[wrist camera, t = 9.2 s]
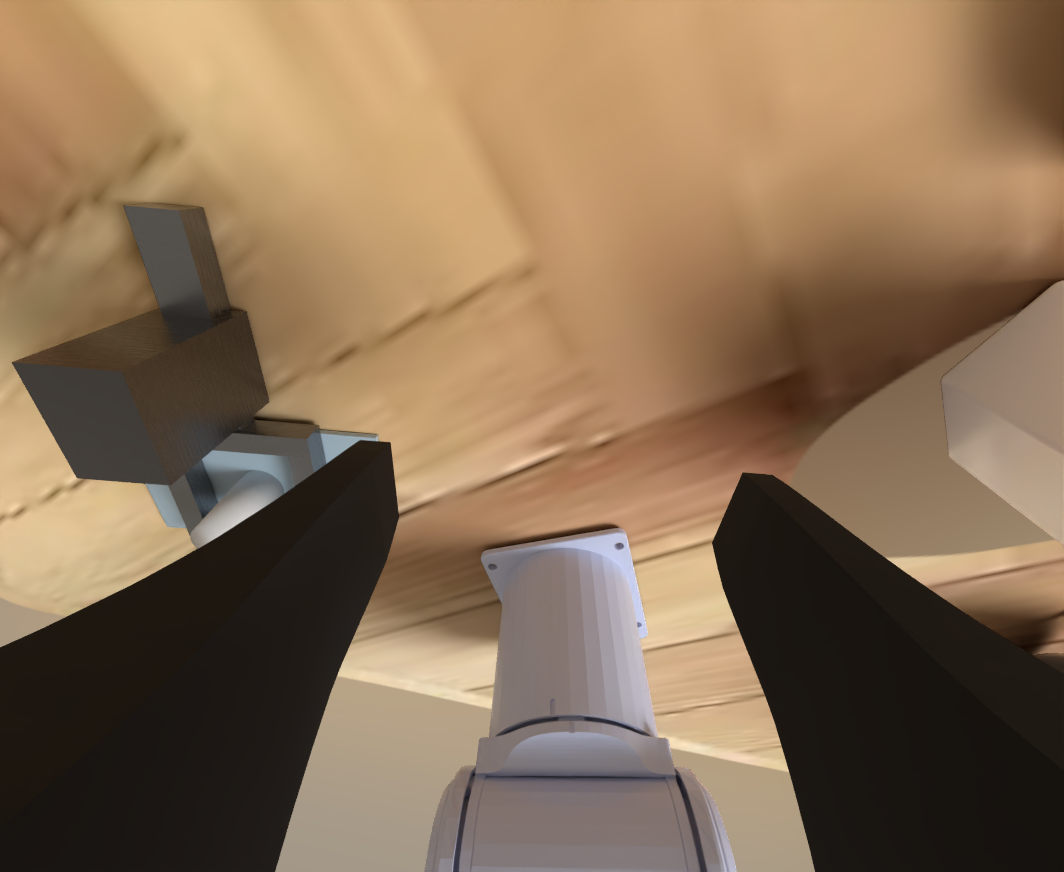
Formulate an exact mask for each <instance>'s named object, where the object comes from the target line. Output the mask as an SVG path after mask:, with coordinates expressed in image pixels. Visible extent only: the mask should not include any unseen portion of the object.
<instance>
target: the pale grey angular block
mask: <svg viewBox="0 0 1064 872" xmlns="http://www.w3.org/2000/svg"><path fill="white" fill-rule="evenodd" d="M941 390H942V398H943V408H944V417H945V426H946V435H947V445H948V454H949V456H950V458H951V459H953V460H954V461H955V462H956V463H958V464H959V465H960V466H962V467H963V468H964V469H965V470H967V471H968V472H969V473H971V474H972V475H973V476H975V477H976V478H977V479H978V480H980V481H981V482H982V483H984V484H985V485H986V486H987V487H989V488H990V489H991V490H992V491H994V492H995V493H996V494H998V495H999V496H1000V497H1001V498H1003V499H1004V500H1005V501H1007V502H1008V503H1009V504H1011V505H1012V506H1013V507H1014V508H1016V509H1017V510H1018V511H1019V512H1021V513H1022V514H1023V515H1025V516H1026V517H1027V518H1029V519H1030V520H1031V521H1032V522H1034V523H1035V524H1036V525H1037V526H1039V527H1040V528H1041V529H1043V530H1044V531H1045V532H1046V533H1048V534H1049V535H1050V536H1052V537H1053V538H1054V539H1055V540H1057V541H1058V542H1059V543H1061V544H1062V545H1063V546H1064V280H1063V281H1059V282H1056V283H1054V284H1053V285H1052V286H1050V287H1049V288H1048V289H1047V290H1046V291H1044V292H1043V293H1042V294H1041V295H1040V296H1038V297H1037V298H1036V299H1035V300H1034V301H1032V302H1031V303H1030V304H1029V305H1028V306H1026V307H1025V308H1024V309H1023V310H1022V311H1020V312H1019V313H1018V314H1017V315H1016V316H1014V317H1013V318H1012V319H1011V320H1010V321H1008V322H1007V323H1006V324H1005V325H1004V326H1002V327H1001V328H1000V329H999V330H998V331H996V332H995V333H994V334H993V335H992V336H990V337H989V338H988V339H987V340H986V341H984V342H983V343H982V344H981V345H980V346H978V347H977V348H976V349H975V350H974V351H972V352H971V353H970V354H969V355H967V356H966V357H965V358H964V359H963V360H961V361H960V362H959V363H958V364H957V365H955V366H954V367H953V368H952V369H951V370H950V371H948V372H947V373H946V374H945V375H943V377H942V378H941Z"/></svg>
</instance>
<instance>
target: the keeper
mask: <svg viewBox="0 0 1064 872" xmlns="http://www.w3.org/2000/svg"><path fill="white" fill-rule="evenodd" d="M320 433H321V438H322V443H323V448H324V453H325V458H326V464H327V463H328V462H329V461H331V460H332V459H334V458H335V457H336V456H338V455H339V454H341V453H342V452H343V451H345V450H346V449H348V448H349V447H350V446H352V445H353V444H355V443H356V442H358V441H359V440H368V441H379V440H378V435H375V434H363V433H351V432H340V431H328V430H320ZM202 461H203V463H204V466H205V469H206V472H207V474H208V477H209V480H210V482H211V485H212V488H213V490H214V493H215V496H216V498H217V501H218V504H217V505H216V506H215V507H214V508H213V509H212V510H211V511H210V512H209V513H208V514H207V515H206V516H205V518H204V519H203V520H202V521H201V522H200V523H199V524H198V525H197V526H196V527H195V528H194V529H193V531H192V532H191V535H190V537H191V541H192V543H193V544H194V546H195V547H196V548H197V549H198V548H200V547H202V546H203V545H205V544H207V543H208V542H210V541H212V540H213V539H215V538H217V537H218V536H220V535H222V534H223V533H225V532H226V531H228V530H229V529H231V528H233V527H234V526H236V525H237V524H239V523H240V522H242V521H243V520H245V519H247V518H248V517H250V516H251V515H253V514H254V513H256V512H257V511H259V510H260V509H262V508H264V507H265V506H267V505H268V504H270V503H271V502H273V501H274V500H276V499H277V498H279V497H280V496H282V495H283V494H285V493H286V492H287V491H289V490H290V489H292V488H293V487H294V486H295V482H294V478H293V474H292V470H291V466H290V462H289V458H288V456H275V455H263V454H251V453H239V452H227V451H215V450H212V451H211V452H210V453H209V454H208V455H206V456H205V457H204V458H203V459H202ZM146 486H147V488H148V490H149V492H150V494H151V496H152V498H153V500H154V502H155V503H156V505H157V507H158V509H159V511H160V513H161V515H162V517H163V519H164V521H165V523H166V525H167V527H176V528H186V525H185V523H184V521H183V519H182V516H181V514H180V512H179V509H178V507H177V505H176V503H175V500H174V498H173V496H172V493H171V491H170V489H169V486H168V485H156V484H146Z"/></svg>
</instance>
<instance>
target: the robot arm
mask: <svg viewBox="0 0 1064 872" xmlns="http://www.w3.org/2000/svg"><path fill="white" fill-rule="evenodd" d="M398 519H399V513H398V505H397V496H396V487H395V478H394V469H393V460H392V451H391V442H380V441H368V440H359V441H358V442H356V443H355V444H353V445H352V446H350V447H349V448H348V449H346V450H345V451H343V452H342V453H341V454H339V455H338V456H336V457H335V458H334V459H332V460H331V461H329V462H328V463H327V464H325V465H324V466H323V467H321V468H320V469H318V470H317V471H316V472H314V473H313V474H312V475H310V476H309V477H307V478H306V479H304V480H303V481H302V482H300V483H299V484H297V485H296V486H294V487H293V488H292V489H290V490H289V491H287V492H286V493H285V494H283V495H282V496H280V497H279V498H277V499H276V500H274V501H273V502H271V503H270V504H268V505H267V506H265V507H264V508H262V509H260V510H259V511H257V512H256V513H254V514H253V515H251V516H250V517H248V518H247V519H245V520H243V521H242V522H240V523H239V524H237V525H236V526H234V527H233V528H231V529H229V530H228V531H226V532H225V533H223V534H222V535H220V536H218V537H217V538H215V539H213V540H212V541H210V542H208V543H207V544H205V545H203V546H202V547H200V548H198V549H197V550H195V551H193V552H191V553H190V554H188V555H186V556H184V557H183V558H181V559H179V560H177V561H175V562H173V563H172V564H170V565H168V566H166V567H164V568H162V569H161V570H159V571H157V572H155V573H153V574H152V575H150V576H148V577H146V578H144V579H142V580H140V581H138V582H136V583H135V584H133V585H131V586H129V587H127V588H125V589H123V590H121V591H119V592H116V593H114V594H112V595H110V596H108V597H106V598H104V599H102V600H100V601H98V602H96V603H94V604H92V605H90V606H88V607H86V608H84V609H82V610H79V611H77V612H75V613H73V614H71V615H69V616H67V617H65V618H63V619H61V620H59V621H57V622H55V623H53V624H51V625H49V626H47V627H45V628H42V629H40V630H38V631H36V632H34V633H32V634H29V635H27V636H25V637H23V638H21V639H18V640H16V641H14V642H11V643H9V644H7V645H5V646H3V647H0V872H275V870H276V866H277V863H278V860H279V856H280V852H281V849H282V846H283V842H284V839H285V835H286V832H287V828H288V825H289V822H290V818H291V815H292V812H293V808H294V805H295V802H296V799H297V795H298V792H299V789H300V786H301V783H302V779H303V776H304V773H305V770H306V767H307V763H308V760H309V757H310V754H311V750H312V747H313V744H314V741H315V738H316V735H317V732H318V729H319V726H320V723H321V719H322V717H323V714H324V711H325V707H326V705H327V702H328V699H329V696H330V693H331V690H332V687H333V685H334V682H335V680H336V677H337V675H338V672H339V669H340V667H341V664H342V662H343V660H344V658H345V655H346V653H347V651H348V648H349V646H350V644H351V641H352V639H353V637H354V635H355V632H356V630H357V628H358V625H359V623H360V621H361V619H362V616H363V614H364V612H365V609H366V607H367V605H368V603H369V600H370V598H371V596H372V593H373V591H374V589H375V586H376V584H377V582H378V579H379V577H380V575H381V572H382V570H383V567H384V565H385V563H386V560H387V557H388V553H389V550H390V547H391V544H392V540H393V537H394V533H395V529H396V526H397V522H398ZM616 543H621V544H616ZM712 544H713V549H714V553H715V558H716V562H717V567H718V571H719V575H720V578H721V582H722V586H723V589H724V592H725V595H726V597H727V600H728V603H729V605H730V608H731V610H732V613H733V616H734V618H735V621H736V623H737V626H738V628H739V631H740V633H741V636H742V639H743V641H744V644H745V646H746V649H747V651H748V654H749V656H750V659H751V661H752V664H753V666H754V669H755V671H756V674H757V676H758V679H759V681H760V684H761V686H762V689H763V691H764V694H765V696H766V699H767V702H768V705H769V708H770V711H771V713H772V716H773V719H774V722H775V725H776V728H777V732H778V735H779V738H780V742H781V745H782V749H783V752H784V756H785V759H786V762H787V766H788V769H789V773H790V776H791V780H792V783H793V787H794V791H795V794H796V798H797V802H798V806H799V810H800V814H801V817H802V821H803V825H804V829H805V833H806V836H807V840H808V844H809V848H810V851H811V856H812V860H813V864H814V869H815V872H1064V673H1062V672H1060V671H1059V670H1057V669H1055V668H1053V667H1052V666H1050V665H1048V664H1047V663H1045V662H1043V661H1041V660H1040V659H1038V658H1036V657H1035V656H1033V655H1031V654H1030V653H1028V652H1026V651H1025V650H1023V649H1022V648H1020V647H1018V646H1017V645H1015V644H1014V643H1012V642H1010V641H1009V640H1007V639H1005V638H1004V637H1002V636H1001V635H999V634H997V633H996V632H994V631H993V630H991V629H989V628H988V627H986V626H985V625H983V624H981V623H980V622H978V621H976V620H975V619H973V618H972V617H970V616H969V615H967V614H966V613H964V612H963V611H961V610H960V609H958V608H956V607H955V606H953V605H952V604H950V603H949V602H947V601H946V600H944V599H943V598H942V597H940V596H939V595H937V594H936V593H934V592H933V591H931V590H930V589H929V588H927V587H926V586H924V585H923V584H921V583H920V582H918V581H917V580H916V579H914V578H913V577H911V576H910V575H908V574H907V573H905V572H904V571H903V570H901V569H900V568H898V567H897V566H896V565H894V564H893V563H892V562H890V561H889V560H887V559H886V558H885V557H883V556H882V555H880V554H879V553H878V552H876V551H875V550H874V549H872V548H871V547H870V546H868V545H867V544H866V543H864V542H863V541H862V540H860V539H859V538H858V537H856V536H855V535H854V534H852V533H851V532H849V531H848V530H847V529H846V528H844V527H843V526H842V525H840V524H839V523H838V522H836V521H835V520H834V519H833V518H831V517H830V516H829V515H827V514H826V513H825V512H823V511H822V510H821V509H819V508H818V507H817V506H815V505H814V504H813V503H811V502H810V501H809V500H807V499H806V498H805V497H803V496H802V495H801V494H799V493H798V492H797V491H795V490H794V489H792V488H791V487H790V486H788V485H787V484H785V483H784V482H782V481H781V480H779V479H778V478H776V477H775V476H773V475H766V474H755V473H742V475H741V478H740V480H739V482H738V485H737V487H736V489H735V491H734V494H733V496H732V498H731V501H730V503H729V505H728V508H727V510H726V512H725V514H724V517H723V519H722V521H721V524H720V526H719V528H718V531H717V533H716V535H715V537H714V540H713V542H712ZM481 562H482V564H483V566H484V568H485V571H486V573H487V575H488V577H489V579H490V581H491V583H492V585H493V587H494V589H495V591H496V593H497V595H498V597H499V599H500V601H501V603H502V613H501V623H500V633H499V643H498V653H497V663H496V672H495V682H494V692H493V702H492V712H491V722H490V733H489V737H484V738H480V739H479V745H478V754H477V762H476V766H464V767H462V768H461V769H460V770H459V771H458V772H457V774H456V776H455V778H454V779H453V780H452V781H451V783H450V784H449V785H448V786H447V787H446V789H445V790H444V792H443V794H442V797H441V799H440V803H439V805H438V808H437V812H436V816H435V819H434V823H433V827H432V832H431V837H430V842H429V848H428V853H427V859H426V865H425V872H737V870H736V866H735V862H734V858H733V854H732V850H731V847H730V843H729V840H728V836H727V833H726V830H725V827H724V824H723V821H722V818H721V816H720V813H719V810H718V808H717V806H716V804H715V801H714V799H713V797H712V796H711V794H710V793H709V791H708V790H707V789H706V787H705V786H704V785H703V784H702V783H701V782H700V781H699V780H698V779H697V777H696V775H695V774H694V773H693V772H692V771H691V770H690V769H688V768H686V767H674V765H673V759H672V754H671V749H670V744H669V740H668V739H667V738H658V734H657V729H656V723H655V718H654V713H653V707H652V702H651V696H650V691H649V686H648V680H647V675H646V669H645V664H644V659H643V653H642V648H641V642H640V639H642V638H645V637H646V636H647V635H648V631H647V626H646V621H645V617H644V612H643V608H642V603H641V599H640V594H639V589H638V585H637V580H636V576H635V571H634V567H633V562H632V558H631V553H630V548H629V544H628V539H627V535H626V532H625V531H624V530H623V529H620V528H613V529H607V530H601V531H595V532H590V533H584V534H578V535H572V536H566V537H560V538H554V539H548V540H542V541H536V542H531V543H525V544H519V545H513V546H507V547H501V548H495V549H489V550H485V551H484V552H482V555H481Z"/></svg>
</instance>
